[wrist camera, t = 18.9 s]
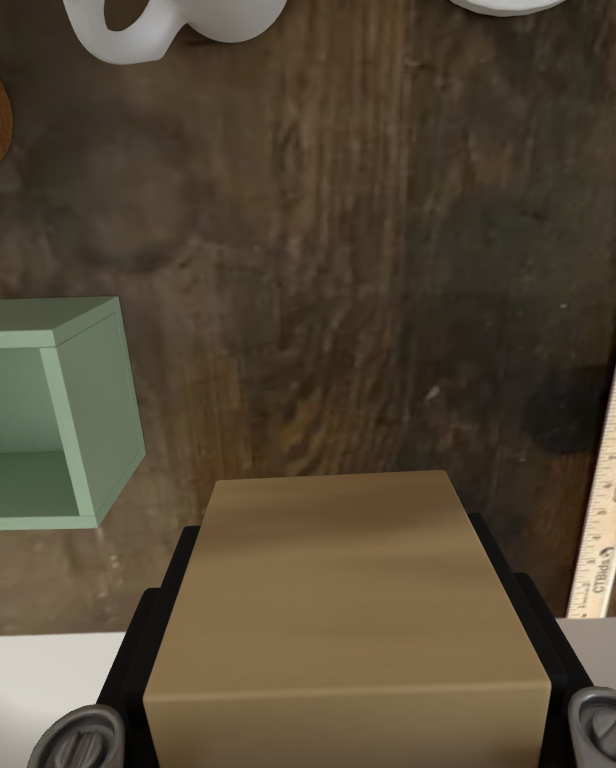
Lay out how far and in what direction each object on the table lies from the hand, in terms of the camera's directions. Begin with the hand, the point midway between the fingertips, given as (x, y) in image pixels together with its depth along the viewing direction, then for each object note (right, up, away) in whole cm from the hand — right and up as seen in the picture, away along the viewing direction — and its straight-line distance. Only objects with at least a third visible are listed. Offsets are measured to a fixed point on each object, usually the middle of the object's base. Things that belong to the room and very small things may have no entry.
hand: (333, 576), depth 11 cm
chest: (-17, +4, +19) cm, 26 cm away
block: (0, 0, 0) cm, 0 cm away
